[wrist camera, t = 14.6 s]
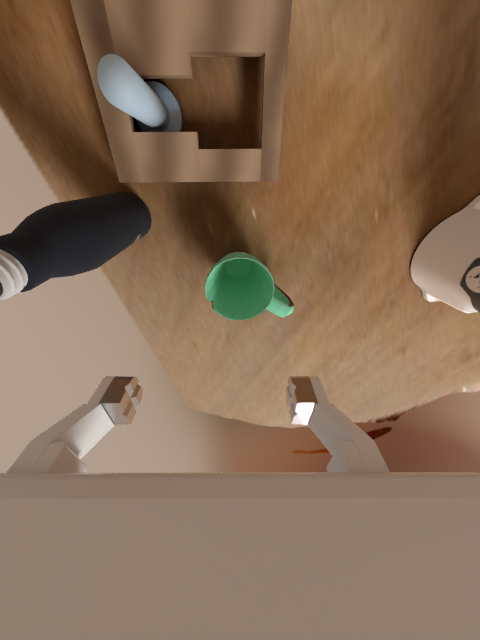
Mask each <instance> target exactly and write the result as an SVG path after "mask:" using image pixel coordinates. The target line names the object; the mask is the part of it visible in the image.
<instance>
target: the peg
mask: <svg viewBox="0 0 480 640" xmlns="http://www.w3.org/2000/svg"><path fill="white" fill-rule="evenodd" d="M97 79H98V83H99V86H100V89H101V91H102V93H103V95H104V96H105V98H106V99H107V100H108V101H109V102H110V103H111V104H112V105H114V106H115V107H117V108H119V109H120V110H122V111H124V112H125V113H127V114H129V115H131V116H132V117H134V118H135V121H136V123H137V125H138V127H139V129H140V131H141V132H181V130H182V122H183V121H182V113H181V109H180V106H179V104H178V102H177V100H176V98H175V97H174V95H173V94H172V93H171V91H170V90H169V89H168V88H167V87H165V86H164V85H163V84H161V83H159V82H155V81H148V82H145V81H144V80H143V79H142V78H141V77H140V76H139V75H138V74H137V73H136V72H135V71H134V70H133V69H132V68H131V67H130V65H129V64H128V63H127V62H126V61H125V60H124V59H122V58H121V57H120V56H118V55H115V54H107V55H105V56H104V57H102V58H101V60H100V62H99V64H98V68H97Z"/></svg>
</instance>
